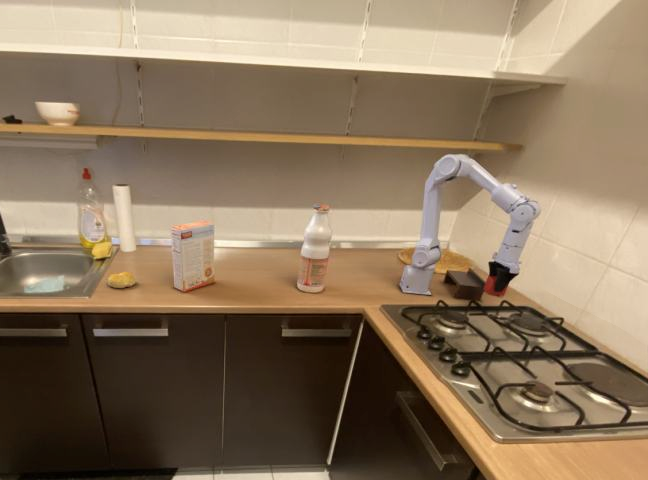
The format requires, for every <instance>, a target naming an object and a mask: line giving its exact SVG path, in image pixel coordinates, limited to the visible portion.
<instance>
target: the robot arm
mask: <svg viewBox="0 0 648 480" xmlns="http://www.w3.org/2000/svg"><path fill="white" fill-rule="evenodd" d="M457 178H469V179H470V180H472V181H473V182H475V183H476V184H477V185H479V186H480V187H481V188H483V190H486V191H487V192H488V193H489V194H490V201H492V203H494V204H495V205H496V206H498V207H499V208H500V209H501V210H502V211H503V212H505V214H507V215H509V219H510V222H509V224H508V227H507V228H506V230H505V233H504V235H503V238H502V241H501V243H500V246H499V248H498V251H497V252H493V254H492V257H491V259H492V260H493V261H490V260H489V261H488V264H487V265H488V276H497V279H496V283H495V287H494V291H498V292H502V291H503V290H504V289H505V287H506V286H507V285H508V283H509V282H511V281H513V280H514V279H515V278H516V277H517V276H519V275H520V270H521V266H520V265H521V264H522V263H523V261H522V260H521V259H520V258H521V255H522V252H523V250H524V248H525V246H526V243H527V241H528V238H529V236H530V234H531V231H532V228H533V226H534V223H535V220H537V219H538V218H539V216H540V215H541V212H542V206H541V205H540V204H539V202H538V201H537V200H533V199H532V200H531V196H529V195H525V194H523V193H522V192H521V191H520V190H519V189H518V185H517V184H516V183H513V184H511V183H510V182H507V183H501V182H500V181H499V180H498V179H496V178H495V177H494V176H493V175H492V174H491V173H490V172H488V170H486V169H485V168H484V167H483V166H481V164H479V163H478V162H477V161H476V160H475V159H473V158H470V157H469V155H467V154H465V153H459V154H449V153H448V154H446V155H444V156H442V157H440V159H438V160H437V161H436V162H435V163H434V165H433V169H432V171H431V173H430V174H429V176H428V177H427V179H426V180H425V182H424V183H425V184H424V194H423V205H422V215H421V225H420V227H421V228H420V237H419V240H418V241H417V243H416V244H415V249H414V252H413V254H412V256H411V262H412V264H406V265H405V266H404V268H403V271H402V275H401V279H400V281H399V287H400V289H401V291H402V293H405V294H416V295H424V296H431V295H432V293H431V291H430V289H429V288H430V287H431V283H432V279H433V277H434V274H435V269H436V263H438V262H439V261H441V259H442V256H443V252H442V249H441V242H440V239H439V230H440V221H441V211H442V201H443V192H444V188H445V187H446V186H447V185H449V184H450V182H452V181H453V180H455V179H457ZM509 284H510V283H509ZM508 286H509V285H508Z"/></svg>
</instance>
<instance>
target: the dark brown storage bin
mask: <svg viewBox="0 0 648 480" xmlns="http://www.w3.org/2000/svg"><path fill="white" fill-rule="evenodd" d="M442 283H443V284H447V285H456V286H457V289H456V291H455V295H454V298H455V299H458V300H467V301H476V302H477V301H478V302H480V301H481V300H482V297H483V295H484V292H485V290H484V289H483V288H484V286H485V283H486V280H485V279H483V277H481V276H480V275H479V274H478V273H477V272H476V271H475V270H474V269H473V268H472V267H468V269H467V271H462V270H452V269H451V270H450V269H446V272H445V275H444V278H443V281H442Z"/></svg>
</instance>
